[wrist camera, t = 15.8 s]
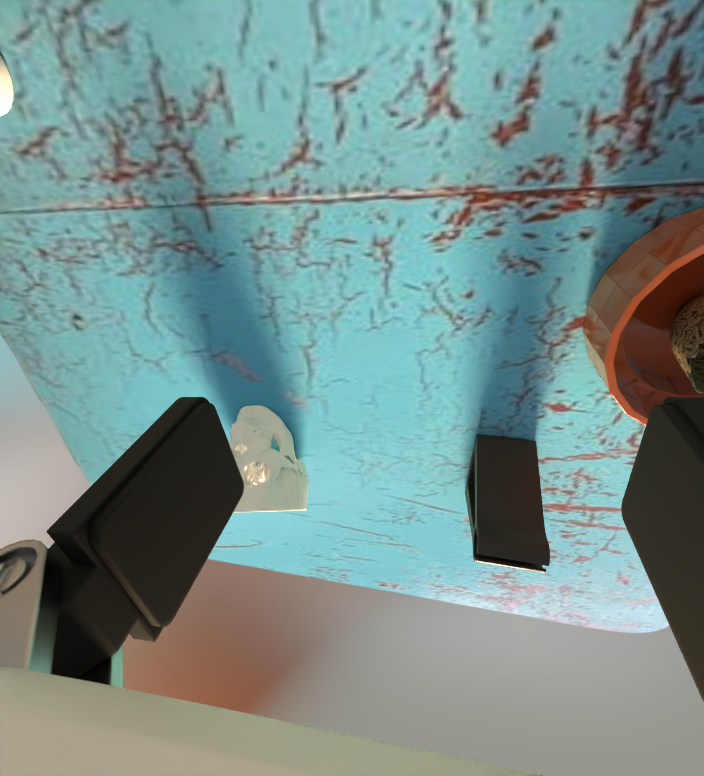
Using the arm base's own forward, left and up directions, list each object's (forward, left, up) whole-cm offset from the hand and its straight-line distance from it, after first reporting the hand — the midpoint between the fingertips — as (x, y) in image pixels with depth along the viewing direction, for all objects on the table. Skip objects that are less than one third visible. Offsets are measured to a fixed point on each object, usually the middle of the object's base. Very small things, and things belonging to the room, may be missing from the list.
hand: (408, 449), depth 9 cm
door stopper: (+27, +6, -28) cm, 40 cm away
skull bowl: (+26, -21, -28) cm, 44 cm away
